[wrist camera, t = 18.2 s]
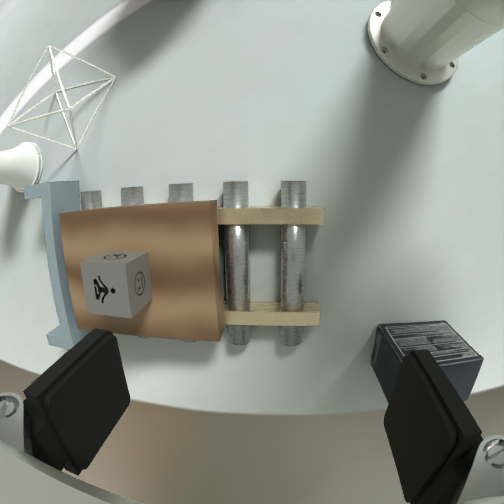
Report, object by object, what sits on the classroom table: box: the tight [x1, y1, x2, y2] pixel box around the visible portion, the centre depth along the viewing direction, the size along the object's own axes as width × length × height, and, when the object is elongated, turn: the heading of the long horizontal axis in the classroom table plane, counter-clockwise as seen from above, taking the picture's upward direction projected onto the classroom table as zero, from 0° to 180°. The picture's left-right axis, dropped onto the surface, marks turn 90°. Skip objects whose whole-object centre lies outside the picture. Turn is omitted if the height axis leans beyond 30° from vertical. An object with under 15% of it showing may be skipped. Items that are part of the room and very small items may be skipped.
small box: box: [371, 321, 484, 403], centre depth 30 cm, size 11×6×10 cm, turn 90°
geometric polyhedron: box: [9, 45, 116, 150], centre depth 28 cm, size 12×11×9 cm
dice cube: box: [80, 251, 152, 318], centre depth 28 cm, size 5×5×5 cm
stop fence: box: [24, 181, 92, 350], centre depth 34 cm, size 21×5×6 cm, turn 1°
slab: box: [59, 200, 224, 341], centre depth 31 cm, size 14×18×3 cm
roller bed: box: [81, 181, 324, 346], centre depth 34 cm, size 18×30×3 cm, turn 91°
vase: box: [0, 142, 43, 192], centre depth 30 cm, size 8×8×10 cm
